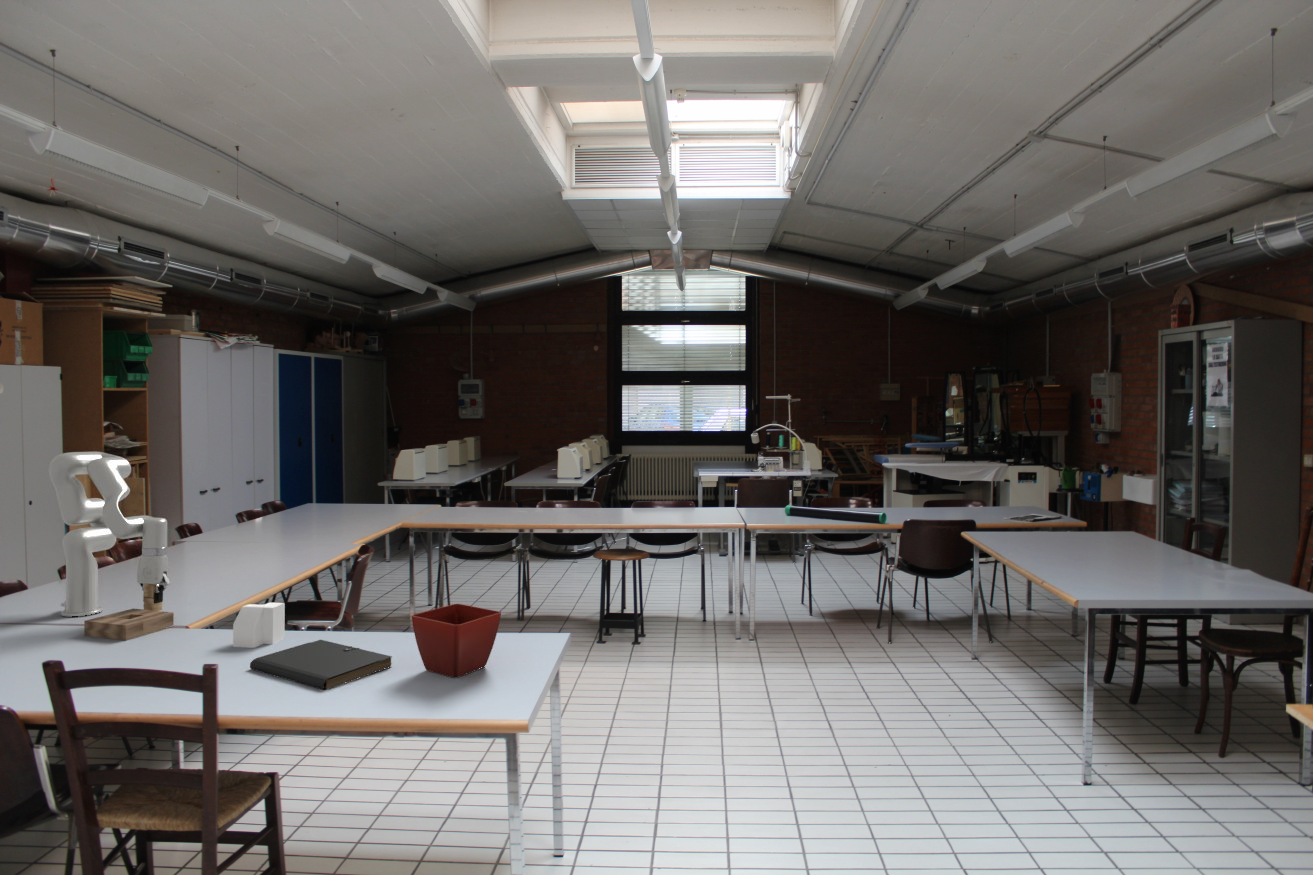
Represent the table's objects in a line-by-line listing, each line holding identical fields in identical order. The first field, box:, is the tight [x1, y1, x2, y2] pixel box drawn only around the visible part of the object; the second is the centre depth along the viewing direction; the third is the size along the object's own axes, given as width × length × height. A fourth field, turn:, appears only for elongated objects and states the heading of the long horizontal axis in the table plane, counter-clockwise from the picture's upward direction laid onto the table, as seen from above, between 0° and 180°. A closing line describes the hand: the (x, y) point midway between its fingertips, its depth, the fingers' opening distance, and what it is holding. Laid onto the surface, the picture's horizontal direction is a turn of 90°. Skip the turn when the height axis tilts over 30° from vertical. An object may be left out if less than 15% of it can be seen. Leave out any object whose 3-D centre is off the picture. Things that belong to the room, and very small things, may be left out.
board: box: [83, 608, 175, 641], centre depth 268 cm, size 18×18×5 cm
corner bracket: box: [232, 602, 286, 649], centre depth 257 cm, size 11×11×12 cm
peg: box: [143, 584, 163, 611], centre depth 284 cm, size 4×4×10 cm
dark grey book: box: [249, 639, 393, 691], centre depth 232 cm, size 33×4×24 cm
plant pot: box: [411, 603, 502, 679], centre depth 233 cm, size 19×19×17 cm
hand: (153, 601), depth 284 cm, fingers closed on peg, 4 cm apart
